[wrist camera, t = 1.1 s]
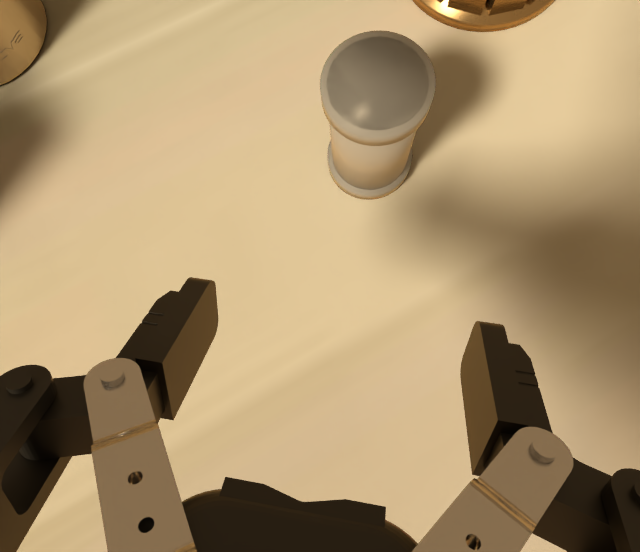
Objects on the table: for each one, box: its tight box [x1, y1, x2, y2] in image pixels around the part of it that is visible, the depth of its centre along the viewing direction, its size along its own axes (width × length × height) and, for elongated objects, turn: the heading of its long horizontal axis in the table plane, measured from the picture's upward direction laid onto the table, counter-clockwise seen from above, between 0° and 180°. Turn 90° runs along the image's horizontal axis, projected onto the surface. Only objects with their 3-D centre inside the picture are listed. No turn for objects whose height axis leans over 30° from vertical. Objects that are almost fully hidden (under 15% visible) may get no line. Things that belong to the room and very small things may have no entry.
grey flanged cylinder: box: [320, 31, 436, 199], centre depth 26 cm, size 5×5×9 cm
